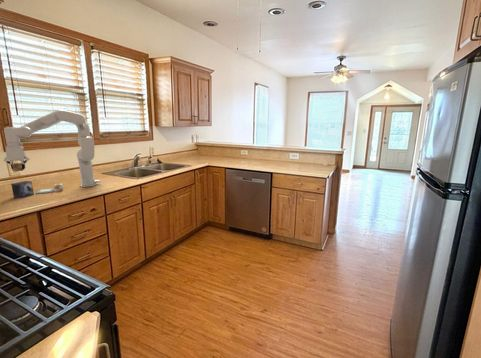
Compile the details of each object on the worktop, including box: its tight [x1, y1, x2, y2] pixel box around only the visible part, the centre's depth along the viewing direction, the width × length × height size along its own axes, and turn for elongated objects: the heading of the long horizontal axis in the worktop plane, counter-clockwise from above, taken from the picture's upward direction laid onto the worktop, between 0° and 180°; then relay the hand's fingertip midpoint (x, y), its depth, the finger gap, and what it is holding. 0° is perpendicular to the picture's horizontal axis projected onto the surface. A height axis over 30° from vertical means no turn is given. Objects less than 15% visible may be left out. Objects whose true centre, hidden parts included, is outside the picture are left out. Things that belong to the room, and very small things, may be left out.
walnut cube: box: [12, 162, 24, 172], centre depth 189 cm, size 5×5×5 cm
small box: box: [10, 180, 35, 199], centre depth 193 cm, size 11×6×10 cm, turn 164°
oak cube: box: [53, 183, 64, 192], centre depth 209 cm, size 5×5×5 cm
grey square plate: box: [36, 187, 55, 195], centre depth 205 cm, size 10×10×1 cm
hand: (18, 169), depth 189 cm, fingers closed on walnut cube, 5 cm apart
